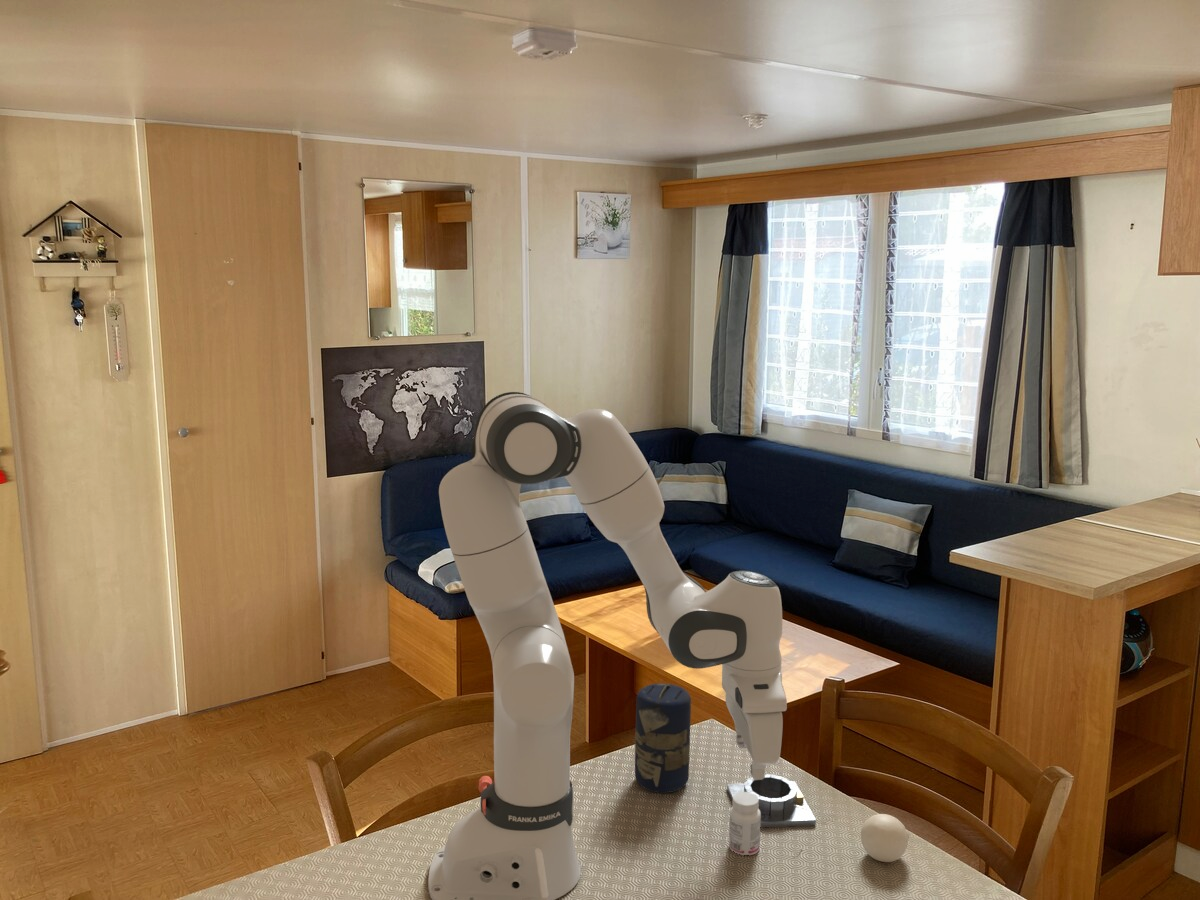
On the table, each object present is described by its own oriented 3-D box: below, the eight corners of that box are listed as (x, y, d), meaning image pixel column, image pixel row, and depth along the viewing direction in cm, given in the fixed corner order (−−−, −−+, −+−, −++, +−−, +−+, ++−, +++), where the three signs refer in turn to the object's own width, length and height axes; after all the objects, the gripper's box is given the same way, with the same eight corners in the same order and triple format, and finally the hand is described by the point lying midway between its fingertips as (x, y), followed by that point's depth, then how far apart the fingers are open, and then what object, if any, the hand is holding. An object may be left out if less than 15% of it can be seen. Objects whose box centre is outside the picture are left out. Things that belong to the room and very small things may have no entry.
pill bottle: (756, 838, 153) (758, 789, 152) (762, 856, 148) (764, 806, 147) (726, 838, 153) (728, 790, 151) (731, 857, 148) (733, 807, 147)
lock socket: (742, 828, 156) (743, 809, 155) (727, 789, 167) (727, 770, 167) (815, 825, 157) (816, 805, 156) (794, 786, 168) (795, 767, 168)
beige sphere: (917, 860, 148) (920, 821, 146) (884, 876, 144) (887, 835, 143) (883, 838, 153) (886, 800, 152) (850, 853, 150) (853, 813, 148)
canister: (624, 785, 168) (625, 689, 165) (652, 763, 176) (654, 670, 172) (671, 803, 163) (673, 704, 159) (698, 779, 171) (701, 684, 167)
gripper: (716, 650, 155) (715, 730, 158) (746, 708, 135) (744, 798, 138) (755, 648, 156) (753, 728, 158) (790, 706, 136) (788, 795, 138)
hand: (749, 761), depth 148 cm, fingers open, 8 cm apart
